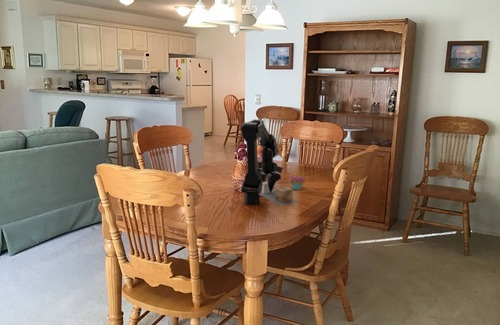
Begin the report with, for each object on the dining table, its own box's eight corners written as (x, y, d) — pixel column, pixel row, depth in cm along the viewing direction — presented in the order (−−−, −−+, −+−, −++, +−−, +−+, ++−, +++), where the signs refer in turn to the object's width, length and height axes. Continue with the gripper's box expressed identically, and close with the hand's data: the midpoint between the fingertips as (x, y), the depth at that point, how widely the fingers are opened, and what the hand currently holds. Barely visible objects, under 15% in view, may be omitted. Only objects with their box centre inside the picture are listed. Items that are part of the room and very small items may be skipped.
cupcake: (292, 191, 226) (292, 169, 223) (286, 187, 234) (287, 165, 231) (306, 190, 228) (307, 168, 225) (301, 186, 236) (301, 165, 233)
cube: (281, 203, 201) (281, 191, 200) (275, 199, 206) (275, 188, 205) (292, 201, 204) (292, 189, 202) (285, 198, 209) (286, 186, 208)
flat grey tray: (279, 206, 198) (280, 195, 197) (254, 193, 220) (255, 182, 218) (299, 204, 203) (299, 192, 202) (273, 191, 225) (273, 180, 223)
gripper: (290, 162, 212) (289, 192, 215) (271, 155, 228) (271, 183, 231) (271, 164, 207) (270, 194, 210) (253, 157, 223) (253, 185, 226)
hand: (266, 189), depth 219 cm, fingers open, 9 cm apart
